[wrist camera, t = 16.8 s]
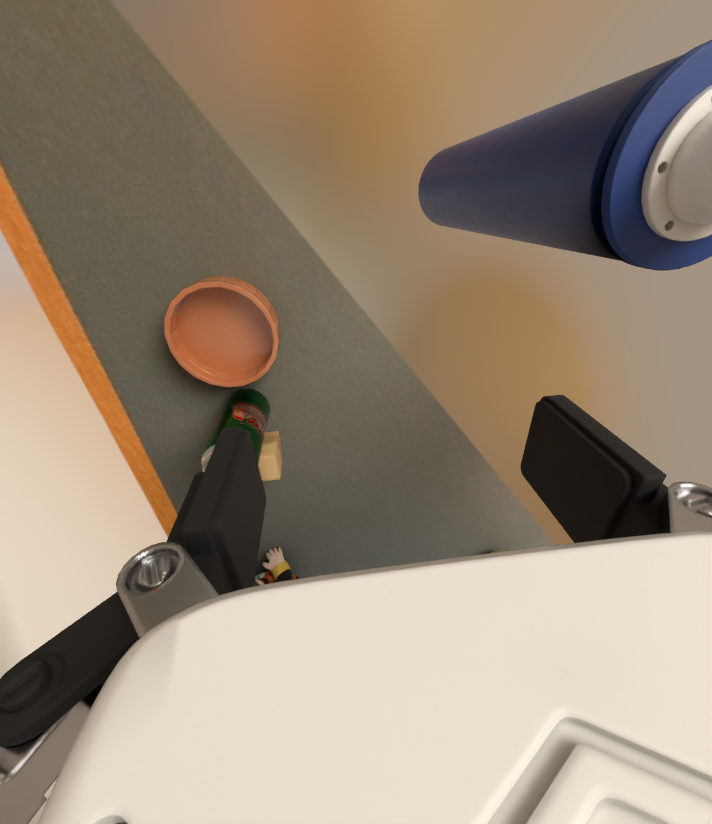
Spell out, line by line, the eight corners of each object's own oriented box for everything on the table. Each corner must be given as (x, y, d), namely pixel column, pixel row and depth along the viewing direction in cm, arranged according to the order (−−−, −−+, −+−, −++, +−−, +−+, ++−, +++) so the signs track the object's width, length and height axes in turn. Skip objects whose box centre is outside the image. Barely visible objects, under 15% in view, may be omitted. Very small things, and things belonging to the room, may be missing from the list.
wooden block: (278, 430, 44) (275, 455, 40) (283, 453, 46) (280, 479, 42) (230, 435, 44) (221, 460, 39) (236, 458, 46) (228, 484, 41)
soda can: (279, 404, 42) (268, 469, 32) (252, 430, 44) (234, 500, 33) (243, 378, 40) (220, 438, 30) (217, 406, 41) (185, 474, 31)
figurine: (298, 544, 61) (260, 530, 48) (313, 603, 56) (275, 606, 43) (247, 565, 61) (196, 557, 48) (258, 626, 56) (204, 635, 43)
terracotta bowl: (270, 272, 35) (267, 277, 32) (287, 370, 40) (285, 382, 38) (160, 280, 34) (147, 286, 31) (192, 379, 39) (183, 391, 37)
